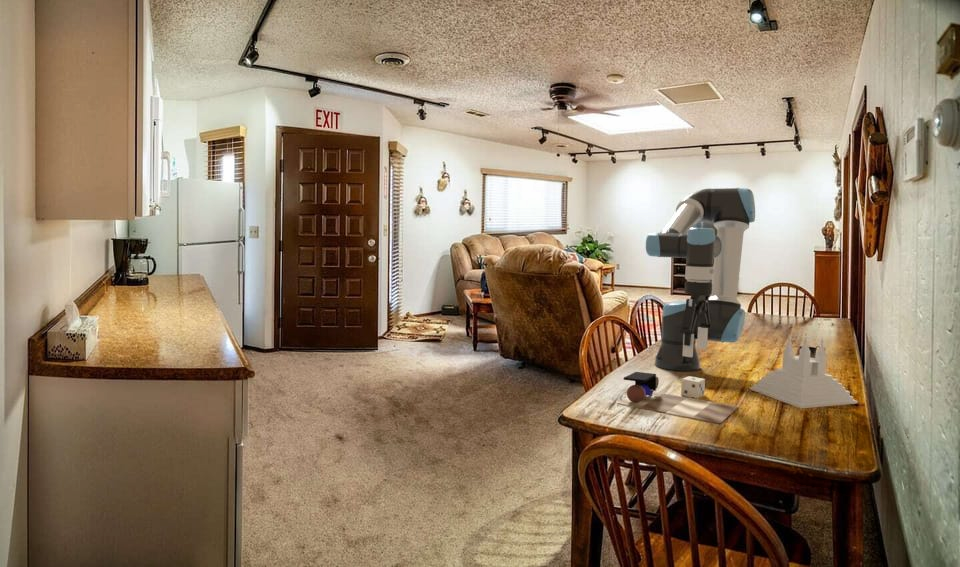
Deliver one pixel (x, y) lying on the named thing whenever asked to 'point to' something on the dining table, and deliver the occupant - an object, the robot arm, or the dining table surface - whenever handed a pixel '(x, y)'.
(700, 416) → the board
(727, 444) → the dining table surface
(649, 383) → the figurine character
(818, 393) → the castle model
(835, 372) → the dining table surface
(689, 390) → the die
